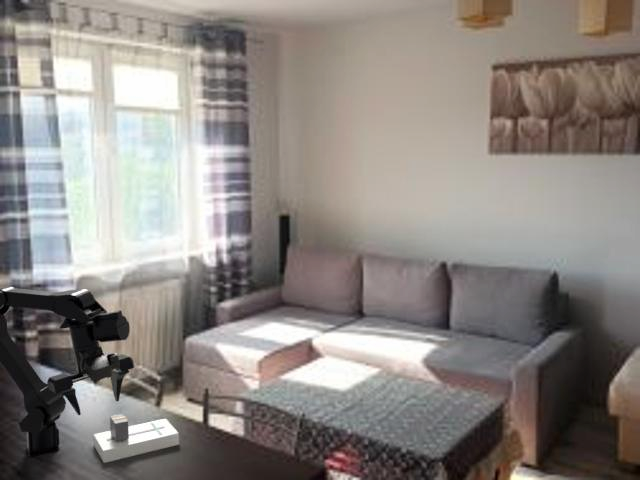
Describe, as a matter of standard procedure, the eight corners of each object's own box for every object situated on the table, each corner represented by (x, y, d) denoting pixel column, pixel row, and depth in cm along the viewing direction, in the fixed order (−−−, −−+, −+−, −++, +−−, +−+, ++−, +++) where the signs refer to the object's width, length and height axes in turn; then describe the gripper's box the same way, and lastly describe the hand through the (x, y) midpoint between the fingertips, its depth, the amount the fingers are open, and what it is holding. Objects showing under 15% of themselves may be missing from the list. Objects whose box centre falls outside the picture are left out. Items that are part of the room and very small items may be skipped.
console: (103, 462, 148) (103, 450, 147) (94, 445, 156) (93, 433, 156) (178, 444, 157) (178, 432, 157) (165, 429, 166) (165, 417, 165)
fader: (115, 441, 151) (114, 423, 151) (110, 433, 156) (109, 415, 155) (128, 438, 153) (128, 420, 152) (123, 430, 157) (122, 413, 157)
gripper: (56, 361, 137) (70, 430, 139) (137, 336, 148) (149, 400, 150) (40, 354, 145) (54, 419, 147) (118, 331, 157) (130, 392, 159)
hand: (98, 407), depth 151 cm, fingers open, 9 cm apart
